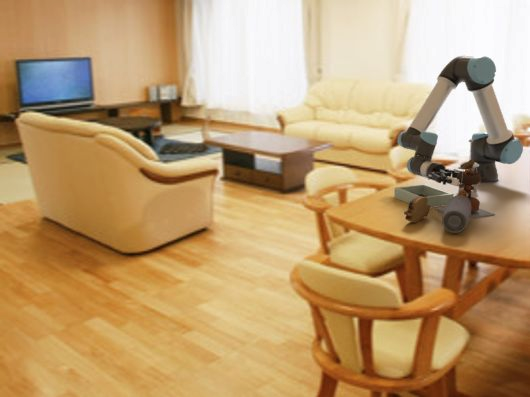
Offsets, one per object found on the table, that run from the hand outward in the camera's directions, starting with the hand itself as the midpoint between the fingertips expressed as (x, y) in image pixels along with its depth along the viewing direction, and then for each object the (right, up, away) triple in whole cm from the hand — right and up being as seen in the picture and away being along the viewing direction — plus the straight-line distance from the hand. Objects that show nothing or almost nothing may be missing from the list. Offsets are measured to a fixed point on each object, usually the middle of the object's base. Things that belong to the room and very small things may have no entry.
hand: (468, 181), depth 227 cm
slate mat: (0, -12, +5) cm, 13 cm away
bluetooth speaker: (-9, -17, -13) cm, 24 cm away
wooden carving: (-22, -16, -5) cm, 27 cm away
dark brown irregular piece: (0, -10, +4) cm, 11 cm away
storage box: (-12, -8, +23) cm, 27 cm away
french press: (+11, -5, +31) cm, 33 cm away
